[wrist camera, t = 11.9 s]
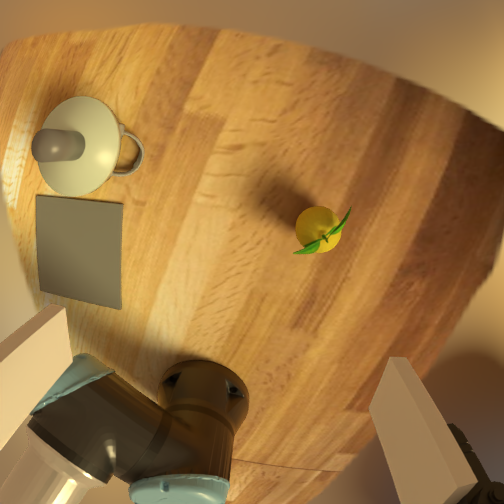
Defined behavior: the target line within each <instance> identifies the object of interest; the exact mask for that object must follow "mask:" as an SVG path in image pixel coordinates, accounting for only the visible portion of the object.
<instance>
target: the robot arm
mask: <svg viewBox="0 0 504 504" xmlns="http://www.w3.org/2000/svg"><path fill="white" fill-rule="evenodd" d="M157 399H158V404H156V403H155V402H153V401H152V400H151V399H149V398H148V397H146V396H145V395H144V394H142V393H141V392H140V391H138V390H137V389H135V388H134V387H133V386H131V385H130V384H129V383H128V382H126V381H125V380H124V379H122V378H121V377H120V376H119V375H117V374H116V373H115V370H113V369H110V368H108V367H107V366H106V365H104V364H103V363H102V362H100V361H99V360H98V359H96V358H95V357H94V356H92V355H90V354H86V353H83V354H78V355H76V356H74V357H73V358H72V353H71V346H70V340H69V333H68V325H67V317H66V308H65V307H63V306H59V305H56V304H52V303H51V304H50V305H48V306H47V307H46V308H44V309H43V310H42V311H40V312H39V313H38V314H37V315H35V316H34V317H33V318H32V319H30V320H29V321H28V322H26V323H25V324H24V325H22V326H21V327H20V328H19V329H17V330H16V331H15V332H14V333H13V334H11V335H10V336H9V337H7V338H6V339H5V340H4V341H3V342H1V343H0V450H1V449H2V448H3V446H4V445H5V444H6V443H7V441H8V440H9V438H10V437H11V436H12V435H13V433H14V432H15V431H16V430H17V428H18V427H19V426H20V425H21V423H22V422H23V421H24V419H25V418H26V417H27V416H28V415H29V414H30V415H33V417H32V419H31V420H30V421H29V423H28V424H27V426H26V430H27V436H28V440H29V445H28V447H27V449H26V450H25V452H24V453H23V454H22V456H21V458H20V459H19V460H18V462H17V463H16V465H15V467H14V468H13V469H12V471H11V473H10V474H9V476H8V477H7V479H6V480H5V482H4V483H3V485H2V487H1V488H0V504H79V503H80V502H81V500H82V498H83V497H84V495H85V494H86V492H87V490H88V489H90V488H94V487H101V486H106V485H107V483H108V481H109V480H110V478H111V477H112V476H113V475H114V476H116V477H118V478H120V479H121V480H123V481H124V482H126V483H128V484H130V487H129V489H128V490H129V496H130V499H131V500H132V501H133V502H134V503H135V504H225V502H226V498H227V493H228V490H229V488H230V483H229V479H230V470H231V461H232V452H233V442H234V436H235V434H236V432H237V431H238V429H239V428H240V426H241V424H242V423H243V421H244V420H245V418H246V416H247V413H248V408H249V393H248V390H247V388H246V386H245V384H244V382H243V381H242V380H241V379H240V378H239V377H238V376H237V375H236V374H235V373H234V372H232V371H231V370H229V369H227V368H226V367H224V366H221V365H219V364H216V363H212V362H208V361H200V360H193V361H185V362H182V363H179V364H176V365H174V366H173V367H171V368H170V369H169V370H168V371H167V372H166V373H165V374H164V376H163V378H162V380H161V382H160V384H159V387H158V392H157ZM369 411H370V414H371V417H372V419H373V422H374V425H375V428H376V431H377V433H378V436H379V439H380V442H381V445H382V448H383V451H384V453H385V457H386V460H387V463H388V466H389V469H390V471H391V474H392V478H393V481H394V484H395V487H396V490H397V493H398V496H399V500H400V503H401V504H504V484H502V483H500V482H495V481H494V482H491V481H490V479H489V478H488V476H487V474H486V472H485V470H484V468H483V467H482V465H481V463H480V461H479V459H478V458H477V456H476V454H475V453H474V452H473V449H472V447H471V446H470V444H468V440H467V439H466V437H465V435H464V434H463V432H462V431H461V430H460V429H459V428H457V427H456V426H455V425H454V424H453V423H452V424H446V422H445V421H444V419H443V417H442V415H441V414H440V412H439V410H438V409H437V407H436V405H435V403H434V402H433V400H432V398H431V397H430V395H429V394H428V392H427V390H426V389H425V387H424V385H423V384H422V382H421V380H420V379H419V377H418V376H417V374H416V372H415V371H414V369H413V368H412V366H411V364H410V363H409V361H408V360H407V358H406V357H390V358H389V360H388V363H387V365H386V368H385V370H384V373H383V375H382V378H381V380H380V383H379V385H378V387H377V390H376V392H375V394H374V397H373V399H372V401H371V404H370V406H369Z"/></svg>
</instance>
